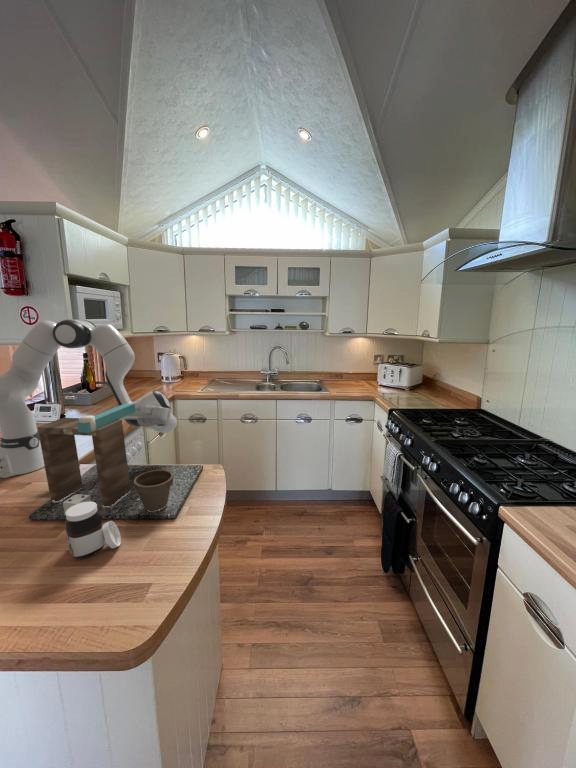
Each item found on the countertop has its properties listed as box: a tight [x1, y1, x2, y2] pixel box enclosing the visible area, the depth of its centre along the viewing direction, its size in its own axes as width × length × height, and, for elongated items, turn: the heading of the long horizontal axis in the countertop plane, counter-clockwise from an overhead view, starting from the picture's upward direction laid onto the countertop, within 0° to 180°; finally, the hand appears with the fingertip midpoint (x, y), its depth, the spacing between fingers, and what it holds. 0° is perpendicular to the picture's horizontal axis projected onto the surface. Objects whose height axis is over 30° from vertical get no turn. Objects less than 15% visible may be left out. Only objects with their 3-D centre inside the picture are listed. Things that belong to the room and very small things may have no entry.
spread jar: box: [64, 501, 122, 560], centre depth 86 cm, size 12×11×12 cm
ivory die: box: [62, 493, 92, 514], centre depth 103 cm, size 5×5×5 cm
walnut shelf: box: [37, 417, 132, 506], centre depth 110 cm, size 22×10×26 cm, turn 80°
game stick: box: [77, 403, 136, 433], centre depth 108 cm, size 4×22×4 cm, turn 170°
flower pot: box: [133, 469, 174, 511], centre depth 105 cm, size 12×11×10 cm
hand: (127, 407), depth 117 cm, fingers open, 8 cm apart
